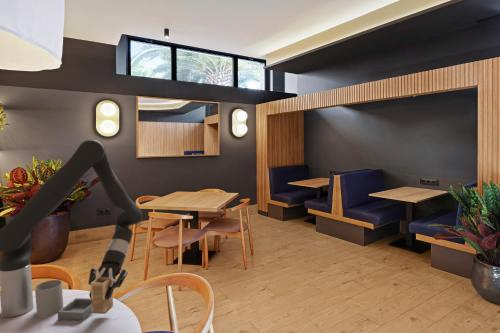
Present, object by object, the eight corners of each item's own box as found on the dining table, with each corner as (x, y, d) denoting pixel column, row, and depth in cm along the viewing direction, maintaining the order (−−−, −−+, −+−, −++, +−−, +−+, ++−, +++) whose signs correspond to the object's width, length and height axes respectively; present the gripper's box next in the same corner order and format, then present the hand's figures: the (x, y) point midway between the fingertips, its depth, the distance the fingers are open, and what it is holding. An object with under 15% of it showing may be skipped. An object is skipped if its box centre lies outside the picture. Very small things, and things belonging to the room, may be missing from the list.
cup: (49, 317, 108) (48, 291, 107) (31, 315, 109) (29, 289, 109) (68, 305, 116) (66, 280, 115) (50, 303, 117) (49, 279, 117)
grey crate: (83, 320, 105) (83, 312, 105) (58, 319, 106) (57, 311, 106) (99, 306, 115) (99, 298, 114) (76, 305, 115) (75, 298, 115)
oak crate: (105, 313, 104) (104, 283, 104) (91, 313, 105) (90, 283, 104) (113, 306, 109) (112, 277, 109) (100, 305, 110) (99, 276, 109)
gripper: (94, 248, 114) (74, 294, 103) (130, 249, 113) (114, 295, 101) (103, 256, 119) (85, 301, 108) (137, 257, 118) (122, 302, 107)
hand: (99, 298), depth 105 cm, fingers closed on oak crate, 5 cm apart
